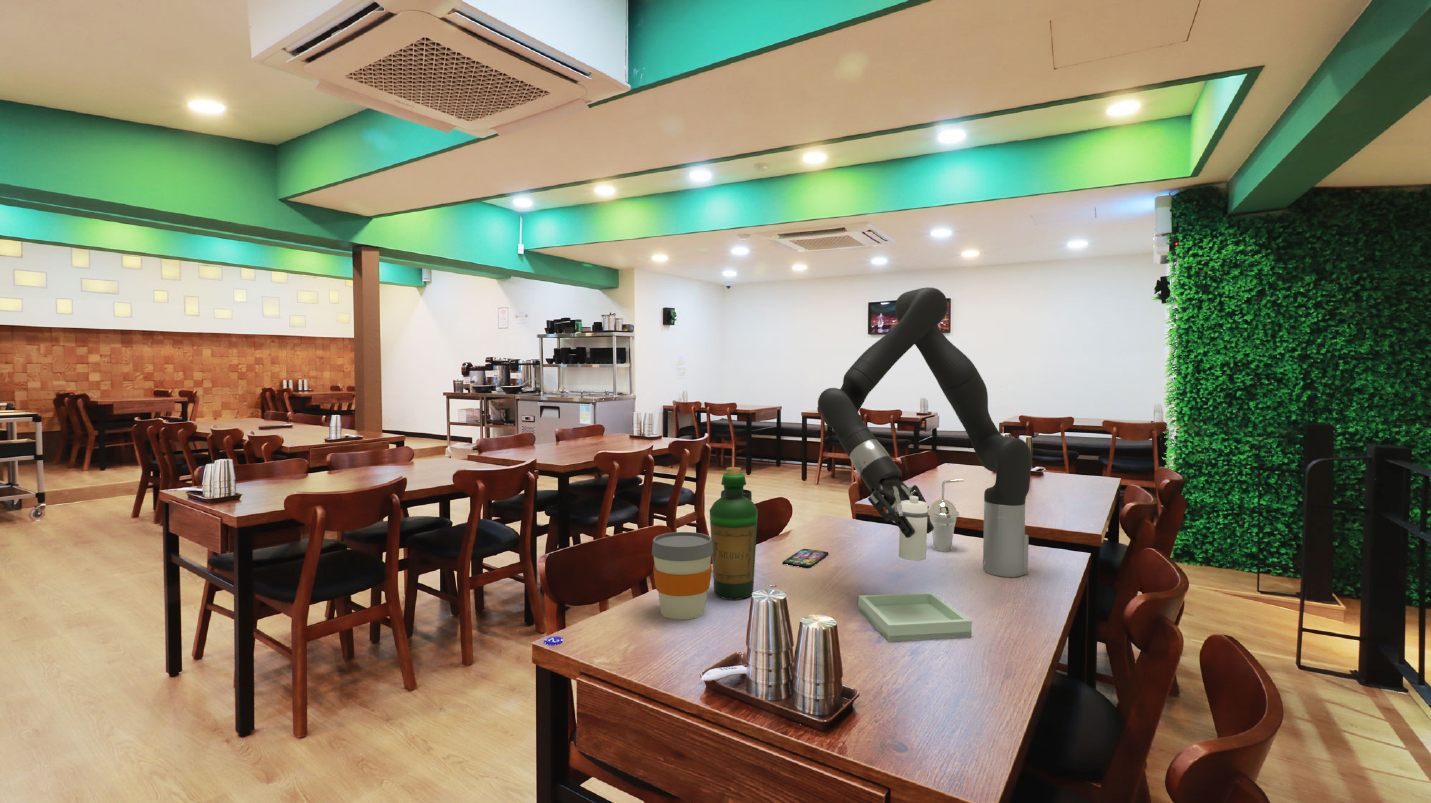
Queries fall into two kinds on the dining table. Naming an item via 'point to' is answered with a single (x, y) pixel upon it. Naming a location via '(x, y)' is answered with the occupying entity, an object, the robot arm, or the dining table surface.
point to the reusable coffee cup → (682, 573)
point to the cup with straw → (943, 521)
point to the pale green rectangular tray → (914, 616)
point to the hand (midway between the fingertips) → (920, 533)
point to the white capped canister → (917, 518)
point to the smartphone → (806, 558)
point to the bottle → (733, 538)
